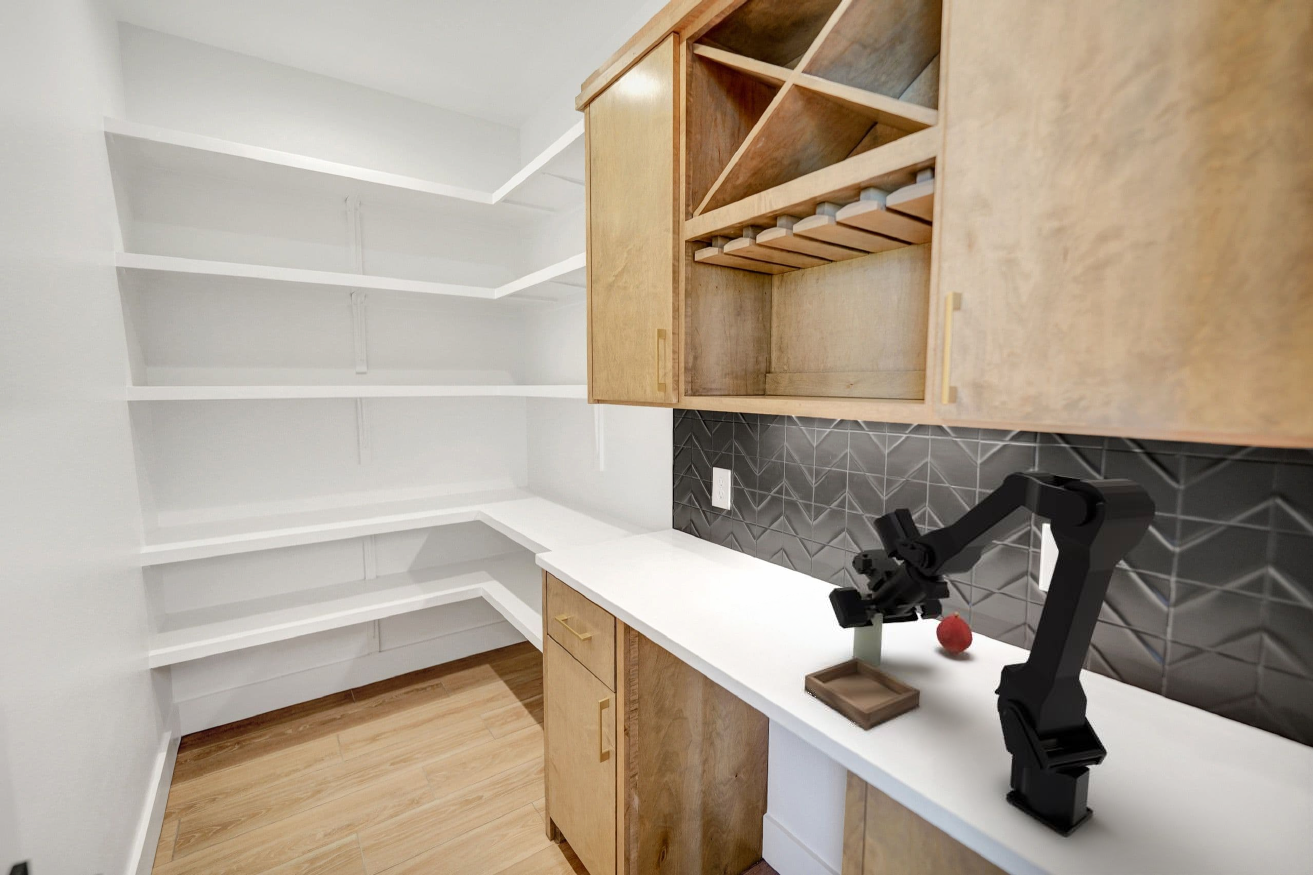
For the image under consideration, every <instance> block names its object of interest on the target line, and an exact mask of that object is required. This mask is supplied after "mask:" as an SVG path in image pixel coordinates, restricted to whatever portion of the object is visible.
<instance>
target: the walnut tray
mask: <svg viewBox="0 0 1313 875" xmlns="http://www.w3.org/2000/svg"><path fill="white" fill-rule="evenodd" d="M805 690H806V691H807V692H806V691H805ZM804 691H805V692H806V693H808V692H809V693H811V694H812V695H814V696H816V697H817V698H818V699H820V700H821V701H820V700H819V701H820V702H822V703H823V702H824V703H823V704H825V705H826V704H827V705H826V706H828V707H829V708H831V709H832V708H833V709H832V710H834V709H835V710H836V711H835V710H834V711H835V712H837V711H838V712H839V714H840V713H841V714H843V715H844V716H843V715H842V716H843V717H845V716H846V717H847V718H846V717H845V718H846V719H848V718H849V719H850V720H849V719H848V720H849V721H851V720H852V721H853V722H852V721H851V722H852V723H854V722H855V723H857V724H858V725H859V726H858V725H857V724H856V725H857V726H858V727H860V728H861V727H862V728H861V729H863V730H864V729H865V730H864V731H868V730H870V729H872V728H875V727H877V726H879V725H882V724H885V723H886V722H888V721H890V720H892V719H893V720H894V719H895V718H897V717H899V716H902V715H904V714H906V713H908V712H911V711H912V710H915V709H917V708H919V707H920V703H921V702H920V700H921V690H919V689H917V688H916V687H913V686H911V685H909V684H907V683H905V682H904V681H902V680H900V679H899V678H896V677H894V676H892V675H890V674H888V673H887V672H884V671H883V670H881V669H879V668H878V667H876V668H875V667H873V666H871V665H870V664H868V663H866V662H864V661H862V660H860V659H858V658H854V659H853V658H852V659H849V660H845V661H842V662H840V663H838V664H835V665H832V666H829V667H826V668H822V669H820V670H818V671H814V672H812V673H809V674H806V675H804ZM809 693H808V694H809ZM811 694H810V695H811ZM812 695H811V696H812ZM814 696H813V697H814ZM817 698H816V699H817ZM818 699H817V700H818ZM838 712H837V713H838ZM841 714H840V715H841ZM855 723H854V724H855Z"/></svg>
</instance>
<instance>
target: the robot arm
mask: <svg viewBox="0 0 1313 875" xmlns="http://www.w3.org/2000/svg"><path fill="white" fill-rule="evenodd" d="M1156 509H1157V508H1156V503H1155V500H1153V499H1152V498H1151V495H1150V494H1149V492H1148V491H1147V490H1146V489H1145V488H1144V487H1143V486H1142V485H1141V484H1139V483H1137V482H1135V481H1134V480H1131V479H1126V478H1111V479H1108V478H1107V479H1106V478H1105V479H1087V478H1080V477H1074V476H1065V475H1062V474H1061V475H1060V474H1056V473H1052V472H1048V471H1046V470H1035V471H1034V470H1031V471H1030V470H1029V471H1028V470H1027V471H1014V472H1012V473H1011V474H1009V475H1007V476H1006V477H1005V478H1004V479H1003V482H1002V483H1001V484H1000V485H999V486H997V487H996V488H995V489H994V490H992V492H990V493H989V494H988V495H987V496H985V497H984V498H983V499H982V500H979V502H978V503H976V504H975V505H974V506H972V507H971V508H970V509H969V510H967V512H965V513H964V514H963V515H962V516H960V517H959V518H957V519H956V520H955V521H953V523H951V524H948V525H947V526H943V527H940V528H936V529H933V530H930V531H928V532H926V533H923V534H921V533H920V531H919V529H918V527H917V525H916V523H915V520H914V519H913V517H912V512H910V510H909V508H908V507H902V508H900V507H899V508H896V509H895V510H894V511H892V512H889V513H888V512H887V513H886V514H884V515H882V516H880V517H876V518H875V519H874V521H873V524H872V525H873V528H874V530H875V532H876V534H877V536H878V539H879V541H880V542H881V545H882V547H883V548H881V549H880V548H876V549H875V548H874V549H865V550H863V551H860V552H858V553H857V554H856V555H854V557H853V559H852V562H851V566H852V567H853V569H854V570H855V572H856V573H857V574H858V575H861V576H862V575H864V576H866V577H867V579H868V580H869V581H868V582H867V583H866V585H867V588H868V589H869V591H872V592H873V593H870V594H867V595H866V596H867V599H868V600H863V598H862V597H861V594H860V592H858V591H857V588H856V587H854V586H845V587H834V588H833V589H832V591H830V593H829V594H828V599H829V602H830V604H831V607H832V609H833V612H834V614H835V615H834V616H835V617H836V620H837V623H838V625H839V627H841V628H842V629H844V630H845V629H852V628H853V629H854V627H868V626H873V623H872V621H871V619H873V618H874V617H875V615H876V614H882V615H883V625H885V624H895V623H896V624H899V623H902V624H903V623H910V622H912V623H913V622H918V621H919V617H920V618H921V620H925V621H926V620H932V619H933V620H934V619H937V618H938V617H940V616H941V615H942V614H943V607H944V606H943V605H942V602H941V600H944V599H945V600H946V599H950V596H951V593H950V589H949V586H948V584H949V583H948V581H946V580H945V577H944V576H950V575H962V574H966V573H968V572H969V571H971V570H972V569H973V568H974V567H975V566H976V564H977V563H978V562H979V561H980V560H981V558H982V554H983V550H984V548H985V547H987V545H989V544H991V543H992V542H993V541H995V540H996V539H998V538H999V537H1001V536H1002V535H1003V534H1005V533H1006V532H1008V531H1009V530H1011V529H1012V528H1013V527H1015V526H1016V525H1017V524H1019V523H1021V522H1022V521H1023V520H1024V519H1027V518H1028V517H1029V516H1031V515H1032V514H1034V515H1035V516H1039V517H1042V518H1045V519H1049V520H1050V521H1049V530H1050V534H1051V535H1052V538H1053V540H1054V543H1055V545H1056V548H1057V550H1058V552H1057V557H1056V561H1055V564H1054V568H1053V571H1052V574H1051V578H1050V582H1049V585H1048V589H1047V593H1046V595H1045V599H1044V603H1043V606H1042V610H1041V614H1040V617H1039V620H1038V623H1037V627H1036V630H1035V635H1034V638H1033V641H1032V645H1031V646H1030V647H1031V648H1030V651H1029V655H1028V658H1027V660H1026V662H1020V663H1019V662H1018V663H1013V664H1005V665H1004V666H1003V667H1002V669H1001V671H1000V680H999V685H998V686H997V688H996V689H995V690H994V694H995V695H997V702H996V708H997V709H996V710H997V712H998V717H999V721H1000V726H1001V730H1002V735H1003V740H1004V744H1005V749H1006V751H1007V753H1009V754H1010V755H1012V756H1011V762H1010V763H1011V765H1010V766H1011V767H1010V780H1009V785H1010V788H1011V789H1012V790H1010V791H1008V792H1007V793H1005V794H1006V797H1005V799H1006V801H1008V802H1009V803H1011V804H1012V805H1014V806H1015V807H1017V808H1019V809H1020V810H1022V811H1023V812H1025V813H1026V814H1028V815H1030V816H1032V817H1033V818H1035V819H1037V820H1038V821H1040V822H1041V823H1043V824H1045V825H1046V826H1048V827H1050V828H1051V829H1052V830H1054V831H1055V832H1058V833H1059V834H1061V835H1063V836H1069V835H1071V833H1073V832H1074V831H1075V830H1077V829H1078V828H1079V827H1080V826H1081V825H1083V824H1084V823H1086V821H1088V820H1089V819H1091V818H1092V817H1093V816H1094V810H1093V809H1092V808H1090V807H1089V806H1088V795H1089V786H1090V785H1089V782H1090V775H1091V774H1090V771H1091V768H1089V767H1088V766H1094V765H1095V766H1099V765H1101V764H1102V763H1103V761H1104V760H1105V759H1106V756H1107V755H1108V752H1107V750H1106V748H1105V746H1104V745H1103V743H1102V741H1101V740H1100V737H1099V736H1098V734H1097V733H1096V731H1095V729H1094V728H1093V726H1092V724H1091V723H1090V720H1089V719H1088V718H1087V716H1086V715H1087V705H1088V698H1087V696H1086V695H1087V694H1086V693H1085V690H1084V687H1083V685H1082V682H1081V680H1080V677H1081V672H1082V669H1083V666H1084V663H1085V660H1086V656H1087V654H1088V650H1089V647H1090V644H1091V641H1092V638H1093V635H1094V632H1095V629H1096V625H1097V622H1098V619H1099V616H1100V613H1101V612H1102V611H1101V610H1102V607H1103V604H1104V600H1105V598H1106V595H1107V591H1108V588H1109V586H1110V582H1111V579H1112V576H1113V574H1114V570H1115V568H1116V566H1117V565H1118V564H1119V563H1120V562H1121V561H1122V560H1123V559H1124V558H1125V557H1127V556H1128V555H1129V554H1130V553H1131V552H1132V551H1133V550H1134V549H1135V548H1136V547H1137V546H1138V545H1139V544H1140V543H1141V542H1142V540H1143V538H1144V536H1145V535H1146V533H1147V531H1148V529H1149V528H1150V526H1151V524H1152V522H1153V521H1154V519H1155V515H1156ZM895 559H896V560H895ZM897 561H899V562H901V561H902V562H901V563H900V564H898V562H897ZM918 607H920V610H921V614H919V616H918V614H917V611H918V609H917V608H918ZM872 608H873V609H872Z"/></svg>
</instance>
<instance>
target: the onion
mask: <svg viewBox="0 0 1313 875" xmlns="http://www.w3.org/2000/svg"><path fill="white" fill-rule="evenodd" d="M935 631H936V638H937V640H938V642H939V644H940V645H941V646H942V647H943V648H944V649H945V651H947V652H948V653H949V654H950V655H953V656H957V655H959V654H960V653H963V652H964V651H966V650H967V649H969V648H970V647H971V645H972V643H973V640H974V639H973V632H972V630H971V627H970V626H969V624H967V622H966V621H965V620H964V619H962V618H961V617H960V613H958V612H954V613H952V614H951V615H947V616H946V617H945V618H943V619H942V620H941V621H940V622H939V624H938V625H937V626H936V630H935Z"/></svg>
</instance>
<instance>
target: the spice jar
mask: <svg viewBox="0 0 1313 875" xmlns="http://www.w3.org/2000/svg"><path fill="white" fill-rule="evenodd" d="M856 589H857V588H856ZM857 591H858V592H860V594H861V597H862V598H863V600H868V599H867V596H866V595H867V594H870V593H873V592H872V591H869V589H868V587H866V588H865V587H864V588H858V589H857ZM872 609H873V608H872ZM871 621H872V623H873V626H868V627H854V628H853V629H854V630H853V648H852V649H853V650H852V659H854V658H858V659H860V660H862V661H864V662H866V663H868V664H870V665H871V666H873V667H875V668H878V667H880V666H881V662H882V661H881V660H882V641H883V625H884V624H883V615H882V614H876V615H875V617H874V618H873V619H871Z"/></svg>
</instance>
